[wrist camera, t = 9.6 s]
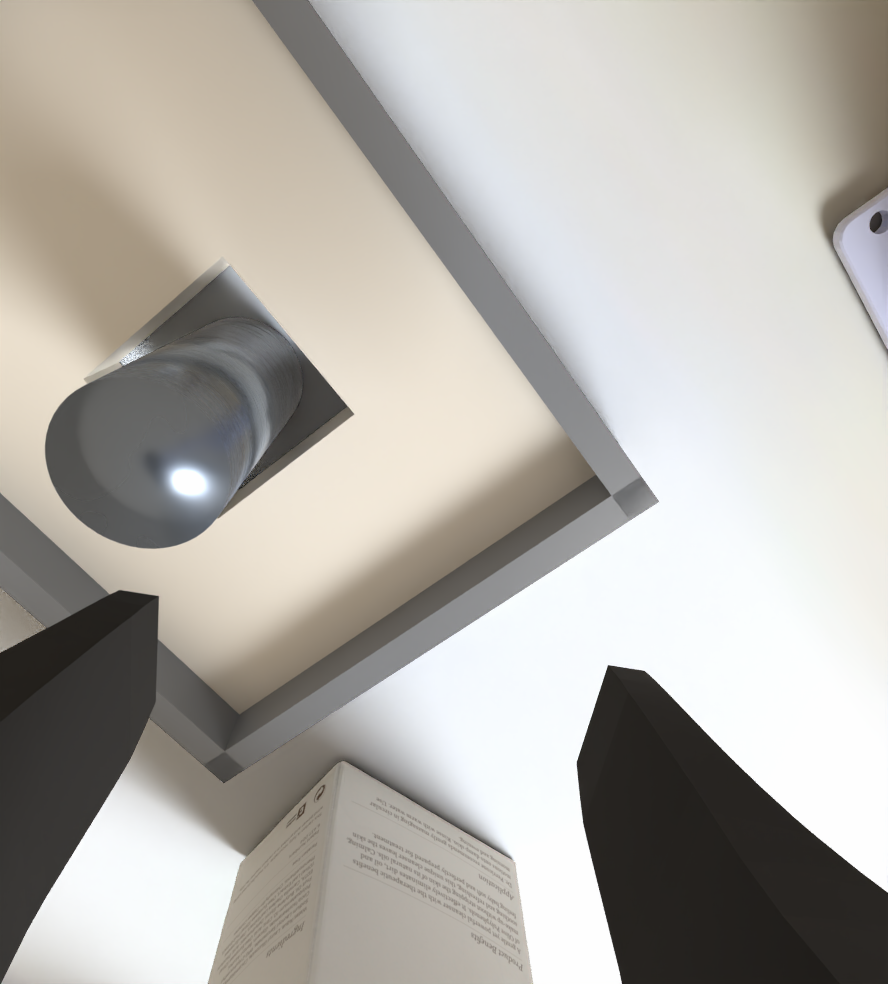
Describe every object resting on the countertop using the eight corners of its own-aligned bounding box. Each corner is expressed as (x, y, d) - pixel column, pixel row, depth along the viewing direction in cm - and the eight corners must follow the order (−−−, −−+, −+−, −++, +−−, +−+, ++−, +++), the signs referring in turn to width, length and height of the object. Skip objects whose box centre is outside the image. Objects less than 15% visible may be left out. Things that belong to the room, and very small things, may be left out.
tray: (153, -217, 14) (67, -343, 11) (623, 453, 20) (659, 501, 16) (-245, 230, 17) (-402, 234, 14) (254, 701, 23) (223, 783, 19)
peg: (199, 298, 18) (62, 348, 12) (318, 344, 18) (251, 416, 12) (170, 410, 19) (31, 514, 13) (283, 451, 20) (204, 571, 13)
